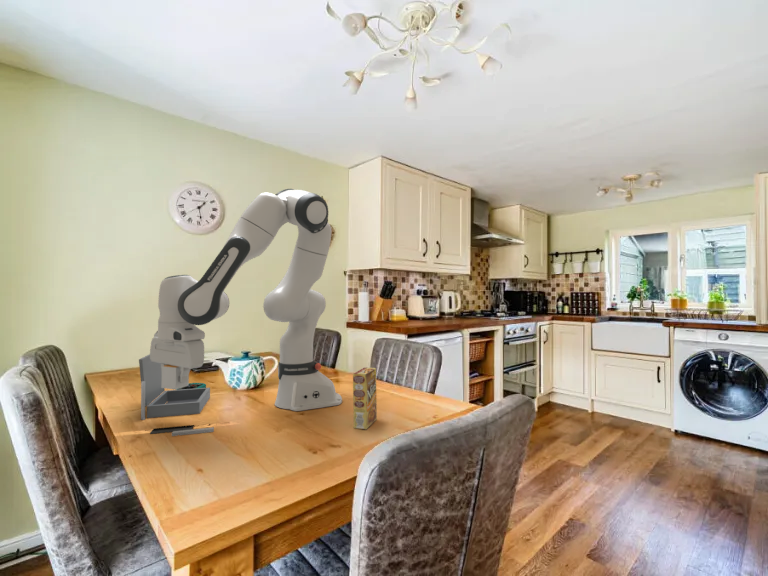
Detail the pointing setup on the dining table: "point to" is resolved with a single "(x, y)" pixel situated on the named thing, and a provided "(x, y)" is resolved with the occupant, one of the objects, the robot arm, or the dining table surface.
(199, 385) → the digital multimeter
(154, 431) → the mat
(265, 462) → the dining table surface
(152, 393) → the lid
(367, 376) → the candy box
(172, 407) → the case
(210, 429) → the rod
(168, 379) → the block
